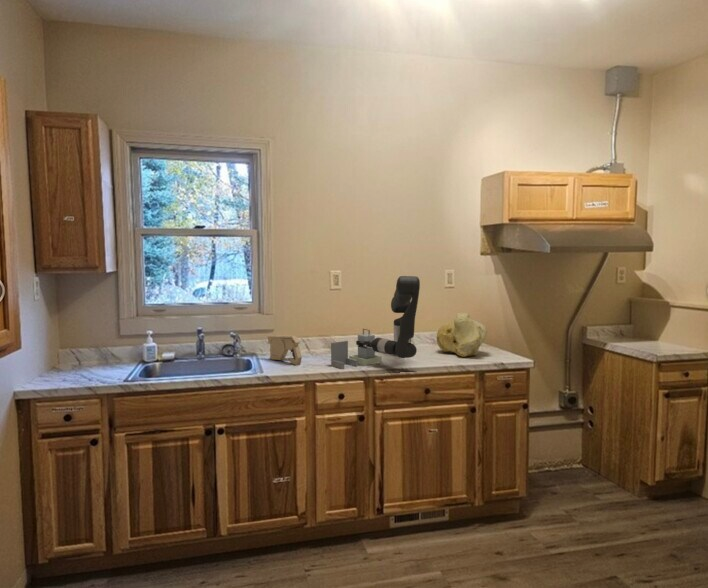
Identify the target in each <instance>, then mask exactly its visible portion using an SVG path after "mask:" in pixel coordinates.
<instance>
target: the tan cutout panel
mask: <svg viewBox="0 0 708 588" xmlns="http://www.w3.org/2000/svg"><path fill="white" fill-rule="evenodd" d="M267 343H268V344H269V345H270V348H269V354H270V355H269V360H271V361H284V362H285V361H286V362H290V364H293V365H295V366H300V365H301V363H302V359H303V355H302V353H301V350H300V346H299V344H301V341H300V340H299V339H298V338H297V336H296V335H268V336H267ZM289 351H290V353H291V356H292V357H286V356H287V354H288V352H289Z"/></svg>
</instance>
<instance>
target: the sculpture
mask: <svg viewBox="0 0 708 588" xmlns="http://www.w3.org/2000/svg"><path fill="white" fill-rule="evenodd" d="M486 338H487V328H486V326H485V325H484V324H482V323H481V322H479V320H478V321H477V320H475V319H472V318H471V316H470V314H469V313H466V312H463V311H462V312H459V311H458V312H457V313H456V314H455V317H454V320H453V322H448V323H444V324H442V325H441V326H440V327H439V329H438V330H437V333H436V343H437V345H438V347H439V349H440V350H441V351H442V352H444V353H448V352H451V353H455V354H456V355H457V356H458V357H459V356H460V357H461V358H465V357H470V356H476V355H477V353H478V352H479V349H480V347H481V346H482V344H483V342H484V341H485V339H486Z"/></svg>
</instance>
